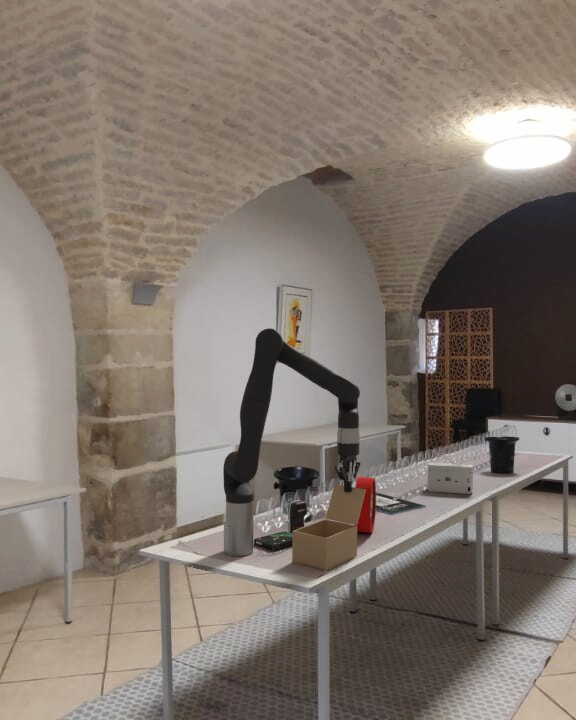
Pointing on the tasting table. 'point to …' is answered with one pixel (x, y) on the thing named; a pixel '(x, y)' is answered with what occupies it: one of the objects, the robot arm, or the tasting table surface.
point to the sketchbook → (394, 505)
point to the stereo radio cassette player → (450, 477)
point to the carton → (324, 544)
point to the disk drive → (275, 541)
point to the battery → (296, 515)
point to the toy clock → (367, 505)
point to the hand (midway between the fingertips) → (347, 491)
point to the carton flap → (345, 505)
